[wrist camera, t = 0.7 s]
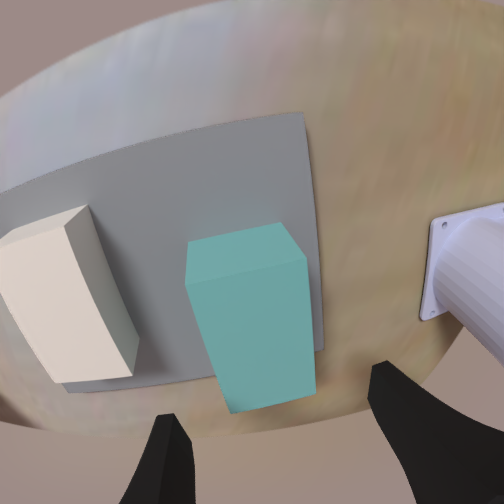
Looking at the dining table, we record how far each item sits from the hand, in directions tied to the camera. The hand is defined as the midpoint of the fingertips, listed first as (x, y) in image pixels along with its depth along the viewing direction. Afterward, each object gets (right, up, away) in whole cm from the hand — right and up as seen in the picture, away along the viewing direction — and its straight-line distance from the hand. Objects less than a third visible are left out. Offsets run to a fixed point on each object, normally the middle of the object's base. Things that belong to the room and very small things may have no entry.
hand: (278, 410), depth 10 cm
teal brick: (-1, +3, +6) cm, 7 cm away
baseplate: (-6, +4, +6) cm, 10 cm away
